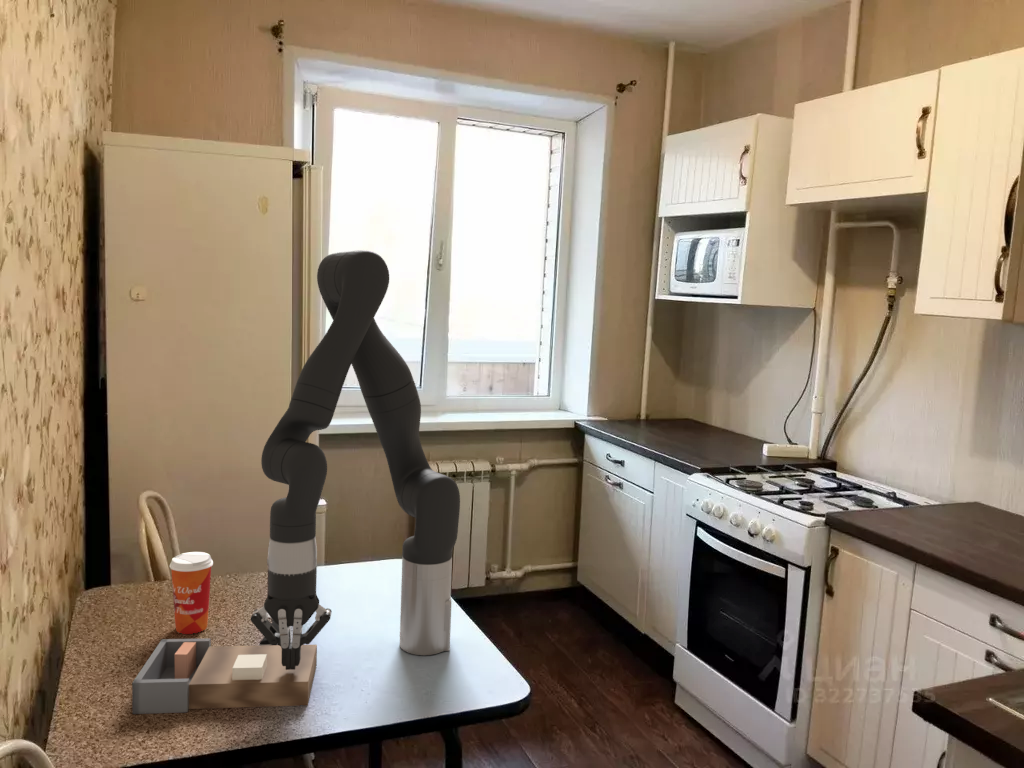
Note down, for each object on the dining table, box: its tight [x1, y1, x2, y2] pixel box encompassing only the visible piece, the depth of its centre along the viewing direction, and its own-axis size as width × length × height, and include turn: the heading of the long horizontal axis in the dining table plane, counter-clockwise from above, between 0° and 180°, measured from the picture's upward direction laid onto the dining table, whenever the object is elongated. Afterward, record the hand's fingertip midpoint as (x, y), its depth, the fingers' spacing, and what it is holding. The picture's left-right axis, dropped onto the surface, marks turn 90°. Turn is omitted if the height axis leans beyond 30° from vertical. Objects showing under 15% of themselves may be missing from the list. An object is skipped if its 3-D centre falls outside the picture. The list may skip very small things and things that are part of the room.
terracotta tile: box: [175, 642, 196, 679], centre depth 131 cm, size 4×4×2 cm
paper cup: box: [169, 551, 214, 635], centre depth 149 cm, size 8×8×14 cm
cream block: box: [232, 654, 267, 680], centre depth 126 cm, size 4×4×2 cm
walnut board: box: [189, 644, 318, 710], centre depth 129 cm, size 18×13×4 cm
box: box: [131, 637, 212, 715], centre depth 127 cm, size 8×15×5 cm, turn 8°
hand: (290, 667), depth 126 cm, fingers closed
